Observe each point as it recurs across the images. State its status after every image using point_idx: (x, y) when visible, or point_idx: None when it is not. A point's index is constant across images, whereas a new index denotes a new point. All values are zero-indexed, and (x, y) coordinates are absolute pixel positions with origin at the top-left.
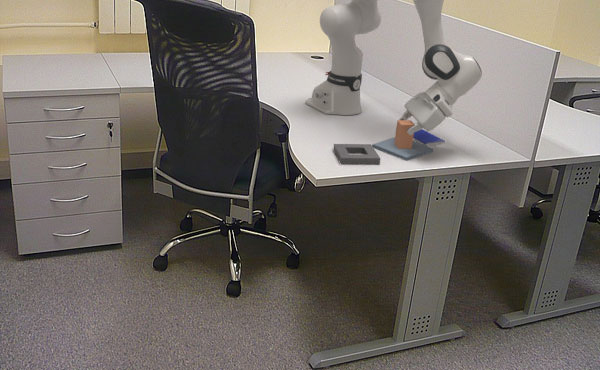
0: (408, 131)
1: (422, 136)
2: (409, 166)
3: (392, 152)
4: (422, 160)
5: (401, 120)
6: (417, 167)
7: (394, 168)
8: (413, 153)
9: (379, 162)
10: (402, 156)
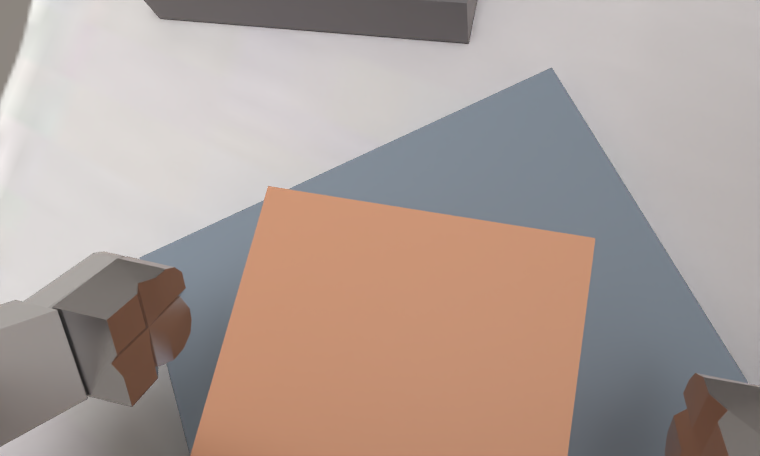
0: (94, 263)
1: None
2: (46, 231)
3: (302, 186)
4: (108, 431)
5: (561, 337)
6: (4, 289)
7: (61, 97)
8: (203, 387)
9: (152, 4)
10: (188, 239)
